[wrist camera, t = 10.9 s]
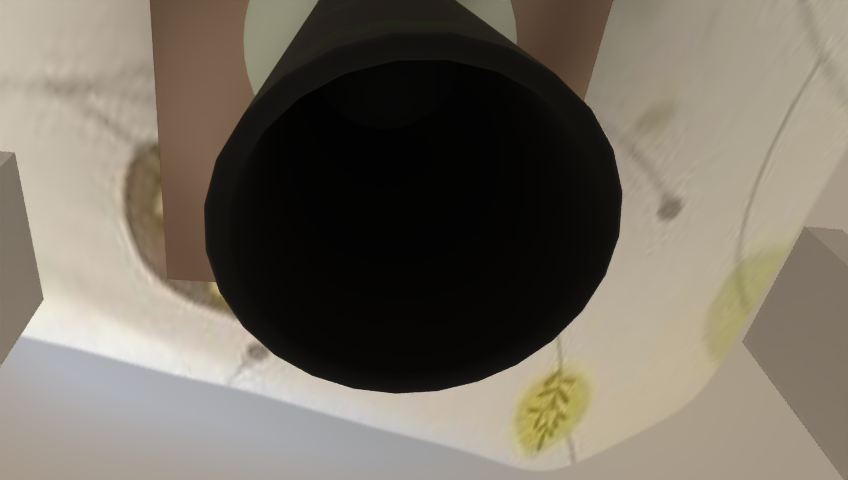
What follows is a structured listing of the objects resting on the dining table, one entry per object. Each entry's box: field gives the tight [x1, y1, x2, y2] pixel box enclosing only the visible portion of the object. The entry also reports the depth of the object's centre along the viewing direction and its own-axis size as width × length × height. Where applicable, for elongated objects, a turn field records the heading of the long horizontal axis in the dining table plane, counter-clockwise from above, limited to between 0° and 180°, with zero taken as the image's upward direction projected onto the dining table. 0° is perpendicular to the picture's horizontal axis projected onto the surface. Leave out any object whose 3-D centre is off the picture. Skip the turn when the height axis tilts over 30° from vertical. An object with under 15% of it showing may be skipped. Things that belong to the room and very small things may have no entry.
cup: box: [204, 0, 622, 394], centre depth 17 cm, size 8×8×12 cm
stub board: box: [150, 0, 613, 282], centre depth 22 cm, size 15×20×4 cm
